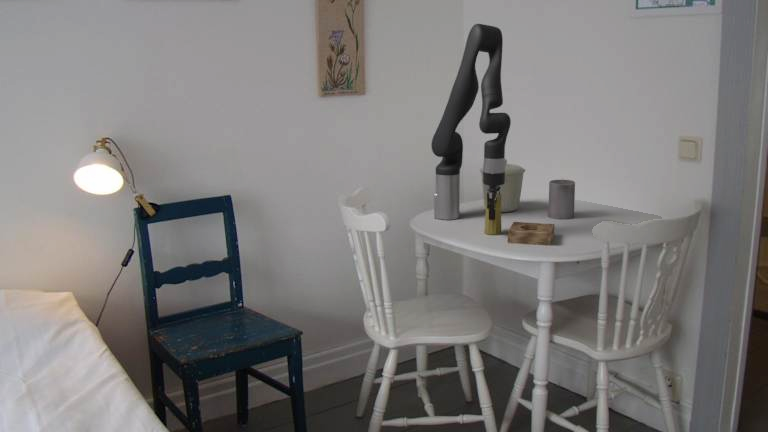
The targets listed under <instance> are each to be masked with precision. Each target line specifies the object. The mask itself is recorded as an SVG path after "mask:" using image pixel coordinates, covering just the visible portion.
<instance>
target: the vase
mask: <svg viewBox="0 0 768 432" xmlns="http://www.w3.org/2000/svg"><path fill="white" fill-rule="evenodd" d="M495 200H496V197H495ZM490 205H493V203H490ZM484 216H485V219H484V231H483V232H484V234H485V235H488V236H489V235H491V236H498V235H501V234H503V233H502V232H503V231H502V212H501V193H500V194H499V195H498V202H497V203H496V209H495V220H489V209H487V193H486V207H485V215H484Z"/></svg>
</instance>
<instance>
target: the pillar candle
mask: <svg viewBox="0 0 768 432" xmlns="http://www.w3.org/2000/svg"><path fill="white" fill-rule="evenodd" d="M575 190H576V182H575V181H574V180H572V179H571V180H570V179H563V178H562V179H553V180H550V181H549V185H548V216H547V217H548V218H550V219H554V220H570V219H573V218H574V216H575V198H576V197H575V196H576V195H575V194H576V191H575Z"/></svg>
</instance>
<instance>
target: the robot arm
mask: <svg viewBox="0 0 768 432" xmlns="http://www.w3.org/2000/svg"><path fill="white" fill-rule="evenodd" d="M503 43H504V42H503V34H502V30H501V29H500V28H499V27H497V26H494V25H489V24H483V23H474V25H473V26H472V27H471V28H470V30H469V32H468V35H467V39H466V42H465V47H464V50H463V54H462V59H461V62H460V65H459V68H458V71H457V75H456V76H455V80H454V82H453V86H452V88H451V91H450V93H449V98H448V100H447V102H446V106H445V108H444V112H443V114H442V117H441V119H440V121H439V123H438V126H437V128H436V130H435V133H433V137H432V140H431V145H430V146H431V151H432V153H433V154H434V156H436V157H439V158H442V159H441V161H440V162H439V163H438V164H437V165H436V167H435V193H434V194H433V195H434V197H433V199H434V200H433V202H434V203H433V209H434V210H433V218H434V219H438V220H445V221H446V220H447V221H450V220H457V219H459V218H460V206H461V204H460V200H461V199H460V195H461V194H460V190H461V187H460V185H461V184H460V183H461V181H460V178H461V177H460V174H461V171H460V170H461V168H462V165H463V151H464V150H463V149H464V145H463V138H462V136H461V134H460V133H459V132H458V131H457V128H458V126H459V124H460V123H461V121H462V120H463V119H464V118H465V117H466V115H467V114H468V113H469V112H470V110H471V109H472V107H473V105H474V103H475V101H476V97H477V95H478V92H479V79H478V75H477V70H476V63H477V58H478V55H479V52H482V53H487V54H488V59H489V61H488V62H489V63H488V67H487V69H486V71H485V73H484V74H483V76H482V79H481V83H480V91H481V101H482V105H481V113H480V118H479V122H478V123H479V125H478V126H479V129H480V131H481V133H483V134H497V136H496V137H495V138H494V139H489V140H486V141H485V142H484V147H483V166H482V168H483V183H484V184H485V185H489V190H487V209H489V220H495V209H496V203H497V202H498V195H499V194H500V188H501V187H500V186H499V185H503V184H504V183H505V159H506V158H505V157H506V156H505V153H506V151H505V149H506V148H505V147H506V142H507V138H508V135H509V131H510V129H511V123H512V122H511V117H510V116H509V114H508V113H507V112H490V111H491V110H494V109H497V108H500V107H502V105H503V104H504V99H503V90H502V89H503V88H502V61H503ZM495 197H496V200H495ZM490 203H493V205H490Z"/></svg>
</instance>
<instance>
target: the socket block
mask: <svg viewBox="0 0 768 432" xmlns="http://www.w3.org/2000/svg"><path fill="white" fill-rule="evenodd" d="M554 237H555V223H543V222H542V223H541V222H540V223H539V222H523V221H520V222H519V221H513V222H512V223H511V226H510V227H509V228H508V230H507V243H509V244H524V245H536V244H538V246H539V245H540V246H551V245H552V241H553V239H554Z"/></svg>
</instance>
